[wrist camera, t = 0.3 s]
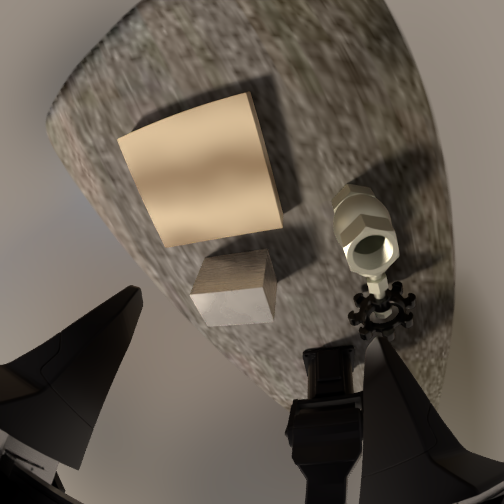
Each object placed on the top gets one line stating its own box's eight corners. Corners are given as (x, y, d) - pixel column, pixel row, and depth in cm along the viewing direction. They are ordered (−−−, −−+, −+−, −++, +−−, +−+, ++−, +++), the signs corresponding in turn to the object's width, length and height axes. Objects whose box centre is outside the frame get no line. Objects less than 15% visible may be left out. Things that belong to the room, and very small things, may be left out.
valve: (306, 194, 21) (346, 297, 27) (310, 242, 16) (353, 351, 21) (384, 167, 19) (406, 278, 24) (417, 207, 13) (425, 330, 19)
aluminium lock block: (277, 281, 26) (273, 321, 22) (219, 288, 28) (207, 326, 24) (267, 247, 24) (262, 287, 20) (205, 257, 26) (189, 294, 22)
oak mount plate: (283, 214, 22) (282, 227, 20) (173, 234, 25) (165, 247, 23) (250, 91, 17) (245, 92, 15) (130, 132, 19) (117, 139, 17)
